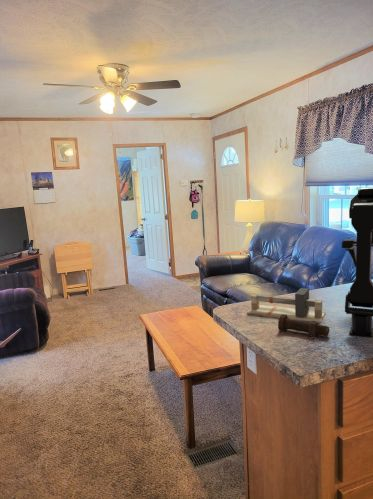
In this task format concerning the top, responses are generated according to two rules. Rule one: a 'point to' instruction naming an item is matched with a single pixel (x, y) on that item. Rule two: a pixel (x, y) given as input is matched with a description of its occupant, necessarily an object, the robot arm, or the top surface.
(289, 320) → the bolt
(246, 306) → the top surface
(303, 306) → the grey square collar
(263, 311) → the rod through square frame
